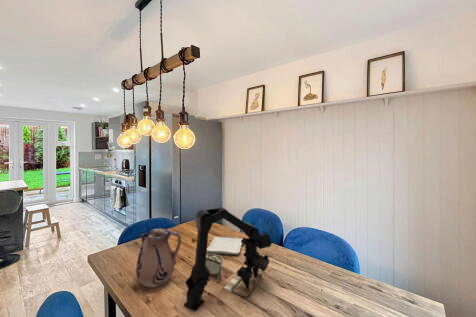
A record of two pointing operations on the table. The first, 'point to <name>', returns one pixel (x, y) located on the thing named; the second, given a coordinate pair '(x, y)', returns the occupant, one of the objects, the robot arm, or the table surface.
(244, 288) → the board
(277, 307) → the table surface
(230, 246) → the salad plate
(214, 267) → the food container
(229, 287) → the ash board
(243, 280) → the robot arm
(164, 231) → the ceramic pitcher
